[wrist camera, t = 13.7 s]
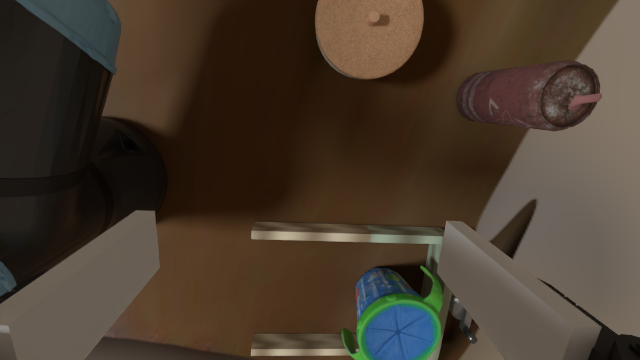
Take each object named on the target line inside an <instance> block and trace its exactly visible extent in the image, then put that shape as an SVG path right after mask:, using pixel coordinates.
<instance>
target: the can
mask: <svg viewBox="0 0 640 360" xmlns="http://www.w3.org/2000/svg"><path fill="white" fill-rule="evenodd" d="M601 97H602V96H601V94H600V83H599V80H598V76H597V75H596V74H595V72H594V70H593V69H591V68H590V67H588V66H586V65H583V64H581V63H579V62H576V61H569V60H566V61H559V62H552V63H545V64H538V65H531V66H523V67H516V68H509V69H502V70H495V71H488V72H481V73H476V74H474V75H472V76H470V77H468V78H467V79H466V80H465V81H464V82H463V83H462V85H461V87H460V89H459V90H458V95H457V107H458V109H459V112H460V113H461V114H462V115H463V116H464V117H465V118H467V119H469V120H471V121H479V122H487V123H495V124H502V125H510V126H518V127H525V128H533V129H541V130H549V131H559V130H564V129H567V128H569V127H573V126H575V125H577V124H579V123H581V122H582V121H583V120H585V119H586V118H587V117H588V116H589V115H590V114H591V112H592V111H593V109H594V107H595V106H596V104H597V101H599V100H600V99H601Z"/></svg>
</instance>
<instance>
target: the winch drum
mask: <svg viewBox="0 0 640 360" xmlns="http://www.w3.org/2000/svg"><path fill="white" fill-rule="evenodd" d="M449 311H450V312H451V314H452V315H453V316H454V317H455V318H456V319H459V320H461V322H460V326H459V328H460V329H461V330H462V331H463V332H464V334H465V335H466V337H467V338H468V339H469V341H470V342H471V343H472V344H474V343H476V342H477V338H476V337H475V336H474V334H473V333H472V331H471V330H470V329H469V328H470V324H471V320H472V319H473V318H472V317H471V316H470V314H469V313H468V312H467V311H466V309H465V308H464V307H463V306H462V304H461V303H460V302H459V300H458V299H457V298H456V297H455V295H454V294H453V293H452V295H451V300H450V305H449Z"/></svg>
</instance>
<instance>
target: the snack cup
mask: <svg viewBox="0 0 640 360" xmlns="http://www.w3.org/2000/svg"><path fill="white" fill-rule="evenodd" d="M420 268H421V269H422V270H423V271H424V273H425V274H426V275H427V276H428V277H430V278H431V279H432V281H433V286H432V290H431V293H430V295H429V296H428V297H425V298H422V297H421V296H420V295H419V294H418V293H416V292H415V291H414V290H413V289H412V288H411V287H410V286H409V285H408V284H407V282H406V281H405V280H404V279H403V278H402V277H401V276H400V275H399V274H398V273H397V272H395V271H393V270H391V269H387V268H377V267H376V268H372V270H370V271H368V272H366V273H365V274H364V275H363V276H362V277H361V279H360V280H359V281H358V282H357V285H356V307H357V320H358V322H357V341H358V345H359V351H358V352H357V353H356V349H355V346H354V337H353V335H352V333H351V332H350V331H349V330H347V329H345V328H343V329H342V340H343V343H344V346H345V349H346V350H347V352H348V353H349V354H350V355H351V356H352V357H353V358H354V359H355V360H426V359H427V358H428V357H429V356H430V355H431V354H432V353H433V352H434V350H435V349H436V347H437V345H438V343H439V340H440V337H441V323H440V320H439V312H440V310H441V307H442V305H443V303H442V301H443V293H442V288H441V285H440V283H439V282H438V280H437V279H436V278H435V277H434V276H433V275H432V274H431V273H430V272H429V271H428V270H427V269H426V268H425V267H423V266H420Z"/></svg>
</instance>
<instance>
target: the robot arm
mask: <svg viewBox="0 0 640 360" xmlns="http://www.w3.org/2000/svg"><path fill="white" fill-rule="evenodd" d="M120 35H121V23H120V19H119V17H118V14H117V13H116V11H115V9H114V8H113V7H112V6H111V4H110V3H109V2H108V1H107V0H0V360H84V359H85V358H86V356H87V355H88V354H89V353H90V352H91V351H92V349H93V348H94V347H95V346H96V344H97V343H98V342H99V341H100V340H101V338H102V337H103V336H104V335H105V334H106V332H107V331H108V330H109V329H110V327H111V326H112V325H113V324H114V323H115V321H116V320H117V319H118V318H119V316H120V315H121V314H122V313H123V312H124V310H125V309H126V308H127V307H128V306H129V304H130V303H131V302H132V301H133V299H134V298H135V297H136V296H137V295H138V293H139V292H140V291H141V290H142V288H143V287H144V286H145V285H146V284H147V282H148V281H149V280H150V279H151V278H152V276H153V275H154V274H155V273H156V271H157V270H158V269H159V268H160V264H159V253H158V242H157V231H156V219H155V213H156V212H157V210H158V209H159V207H160V206H161V204H162V202H163V200H164V197H165V194H166V188H167V177H166V171H165V167H164V164H163V161H162V159H161V157H160V155H159V153H158V152H157V150H156V149H155V147H154V146H153V145H152V143H151V142H150V141H149V140H148V139H147V138H146V137H145V136H144V135H143V134H141V133H140V132H139V131H137V130H136V129H134V128H133V127H131V126H129V125H127V124H125V123H123V122H121V121H118V120H115V119H111V118H106V117H101V116H102V113H103V109H104V105H105V102H106V98H107V95H108V91H109V87H110V84H111V80H112V77H113V74H114V75H115V74H116V71H117V69H116V67H115V61H116V55H117V50H118V45H119V40H120ZM437 274H438V275H439V276H440V278H441V279H442V280H443V281H444V283H445V284H446V285H447V287H448V288H449V289H450V290H451V292H452V293H453V294H454V295H455V297H456V298H457V299H458V300H459V302H460V303H461V304H462V306H463V307H464V308H465V309H466V311H467V312H468V313H469V314H470V316H471V317H472V318H473V320H474V321H475V322H476V323H477V325H478V326H479V327H480V328H481V330H482V331H483V332H484V333H485V335H486V336H487V337H488V339H489V340H490V341H491V342H492V344H493V345H494V346H495V347H496V349H497V350H498V351H499V353H500V354H501V355H502V356H503V358H504V359H505V360H640V338H639V337H636V336H632V335H624V334H621V335H617V334H616V333H615V332H613V331H612V330H611V329H609V328H608V327H607V326H605V325H604V324H603V323H601V322H600V321H599V320H597V319H596V318H595V317H593V316H592V315H590V314H589V313H588V312H587V311H585V310H584V309H583V308H581V307H580V306H576V304H575V303H574V302H573V301H572V300H570V299H569V298H568V297H564V294H562V293H561V292H559V291H558V290H557V289H555V288H554V287H553V286H551V285H550V284H548V283H546V282H544V281H542V280H540V279H538V278H536V277H535V276H534V275H532V274H531V273H530V272H528V271H527V270H526V269H524V268H523V267H522V266H520V265H519V264H518V263H516V262H515V261H514V260H512V259H511V258H510V257H508V256H507V255H506V254H504V253H503V252H502V251H500V250H499V249H498V248H497V247H495V246H494V245H493V244H491V243H490V242H489V241H487V240H486V239H485V238H483V237H482V236H481V235H479V234H478V233H477V232H475V231H474V230H473V229H471V228H470V227H469V226H467V225H466V224H465V223H463V222H462V221H446V226H445V231H444V237H443V242H442V247H441V252H440V257H439V262H438V268H437Z"/></svg>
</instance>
